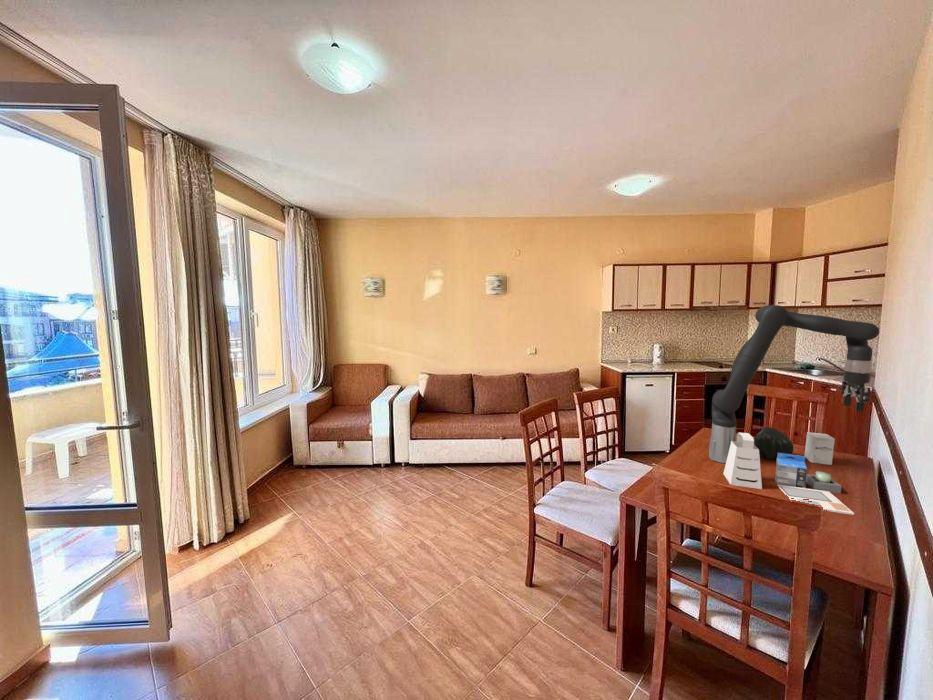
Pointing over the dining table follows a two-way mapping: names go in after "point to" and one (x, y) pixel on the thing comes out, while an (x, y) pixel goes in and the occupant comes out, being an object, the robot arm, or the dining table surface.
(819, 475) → the button
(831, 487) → the button housing
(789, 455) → the label tape box
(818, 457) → the supplement box
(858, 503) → the dining table surface
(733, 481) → the grater
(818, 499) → the picture board
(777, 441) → the squash
